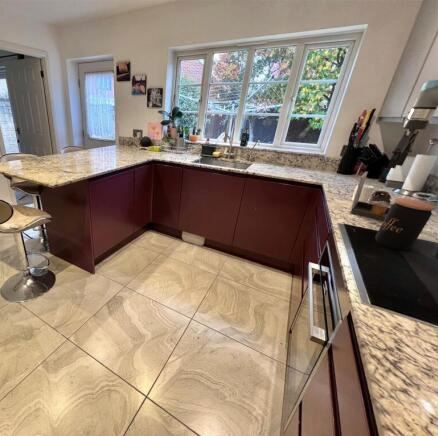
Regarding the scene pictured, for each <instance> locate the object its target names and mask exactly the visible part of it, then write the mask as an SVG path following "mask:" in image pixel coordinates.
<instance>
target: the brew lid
mask: <svg viewBox="0 0 438 436" xmlns="http://www.w3.org/2000/svg"><path fill="white" fill-rule="evenodd" d="M368 172H369V171H365V172H364V173H363V174H362V175H361V177H360V179H359V182H358V184H359V185H358V188H357V191H356V195H355V198H354V201H352V205H351V207H350V208H351V209H352V208H354V206H355V205H356V203H357V202H358V200H359V198H360V194H361V191H362V188H363V185H365V182H366V178H367V175H368V174H369V173H368Z"/></svg>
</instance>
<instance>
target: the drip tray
mask: <svg viewBox="0 0 438 436" xmlns="http://www.w3.org/2000/svg"><path fill="white" fill-rule="evenodd" d="M373 204H374V203H371V202H370V203H369V202H366V203H365V202H360V201H358V202H357V203H356V205H355V206H354V208H351V210H350V215H355V216H360V217H364V218H367V219H371V220H375V221H379V222H383V221H384V219H385V217H386V215H387V213H388V211H389V209H390V207H388V208H387V209H386V211H385V213H384V215H383V216H381V215H377V214H373V213H370V211H371V209H372V207H373Z"/></svg>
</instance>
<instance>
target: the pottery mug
mask: <svg viewBox="0 0 438 436" xmlns="http://www.w3.org/2000/svg"><path fill="white" fill-rule="evenodd" d="M391 199H392V196H391V194H390V193H389V192H388V191H386V190H375V191H374V192H372V193H371V195H370V197H369V202H370V203H371V202H377V203H378V202H384V203H387V204H388V205H390V204H391Z"/></svg>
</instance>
